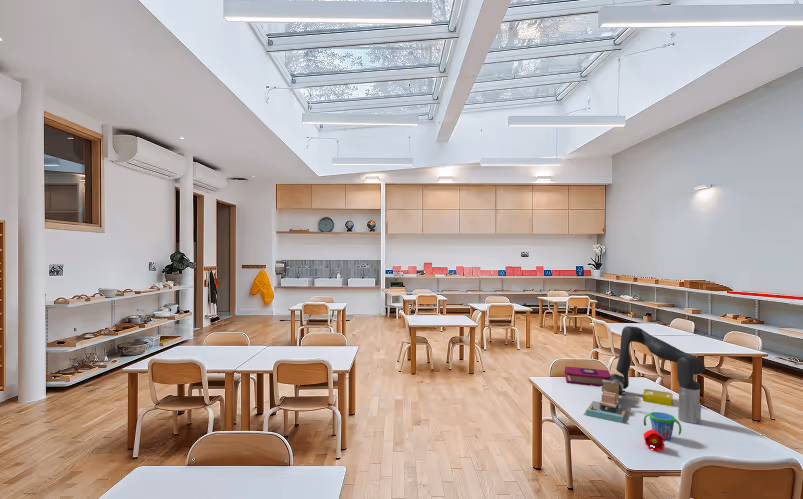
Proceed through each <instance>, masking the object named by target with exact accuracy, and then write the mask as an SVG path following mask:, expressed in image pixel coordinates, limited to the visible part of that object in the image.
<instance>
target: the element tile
mask: <svg viewBox="0 0 803 499" xmlns="http://www.w3.org/2000/svg"><path fill="white" fill-rule="evenodd" d="M642 401H643V402H645V403H651V404H656V405H662V406H668V407H673V394H672V393H671V392H668V391H661V390H654V389H648V388H645V389H644V390H643V392H642Z"/></svg>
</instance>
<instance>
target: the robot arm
mask: <svg viewBox="0 0 803 499" xmlns="http://www.w3.org/2000/svg"><path fill="white" fill-rule="evenodd" d="M620 337H621V338H620V346H619V347H620V348H619V349H620V350H619V356H618V361H617V364H616V371H617V372H618V373H619V374H617V373H613V374H612V375H611V378H610V380H609V381H613V382H619V383H620V385H619V397H621V396H626V390H625V389H627V388H628V387H629V385H630V383H629V382H630V381H629V380H630V379H629V373H630V368H631V363H632V356H631V354H630V344H631V342H632V343H638V344H642V345H644V346H645V347H647V349H648V351H649V352H650V353H651V354H653V355H654V356H656V357H658V358H660V359H663V360H665V361H668V362H673V363H676V373H677V377H676V378H677V381H678V410H677V412H678V413H677V418H678V419H677V420H680V421H682V422H685V423H691V424H699V423H700V422H701V420H702V419H701V418H702V415H701V414H702V413H701V412H702V403H700V398H701V396H700V393H701V384H700V382H699V381H696V380H694V375H700V374H702V373H704V372H705V369H706V366H705V363H704V362H703V360H702V359H701V358H699V357H697V356H696V355H692V354H690V353H688V352H685V351H682V350H681V349H680V348H677V347H676V346H674V345H671V344H669V343H668V342H666V341H664V340H663V339H659V338H658V337H656V336H653V335H651V334H649V333H648V332H647V331H645V330H644V329H643V328H640V327H638V326H632V325H627V326H624V327H623V328H622V330H621V335H620ZM620 374H621V375H620ZM601 392H602V393H603V387H601Z"/></svg>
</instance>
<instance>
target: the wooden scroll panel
mask: <svg viewBox="0 0 803 499" xmlns="http://www.w3.org/2000/svg"><path fill="white" fill-rule="evenodd" d="M602 382H603V392H602V393H601V400H600V401H599V402H600V406H599V408H600V409H601V410H605V406H608V407H611V411H612V412H616V411H617V409H616V408H618V407H619V406H620V405H619V398H620V396H619V385H620V383H619V382H613V381H610V380H609V381H607V380H602Z"/></svg>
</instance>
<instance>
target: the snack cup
mask: <svg viewBox="0 0 803 499" xmlns="http://www.w3.org/2000/svg"><path fill="white" fill-rule="evenodd" d="M647 417H649V420H650V422H651V423H650V425H651V430H655V431H657V432H658V433H659V434H660V435H661V436H662V437H663V438H664V440H671V439H672V435H673V431H674V426H675V423H676V424H677V426H678V436H679V435H681V433H682V431H683V430H682V425H681V423H680V421H679V420H678V419H676V417H675V416H674V415H672V414H669V413H665V412H660V411H653V412H650V413H647V414H645V416H644V419H643V426H644V427H645V426H647V421H646V420H647V419H646V418H647Z"/></svg>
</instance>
